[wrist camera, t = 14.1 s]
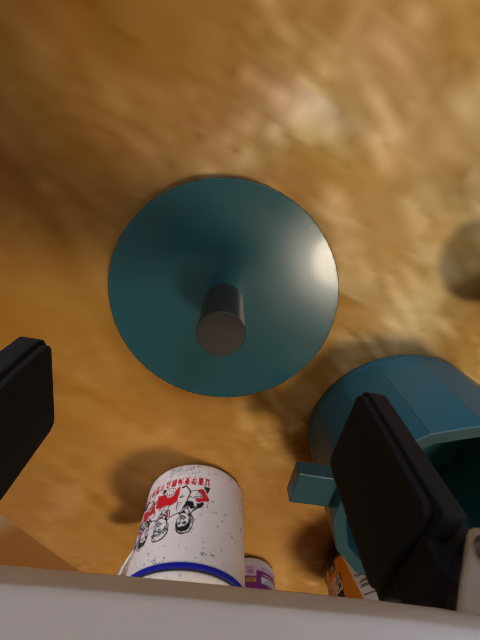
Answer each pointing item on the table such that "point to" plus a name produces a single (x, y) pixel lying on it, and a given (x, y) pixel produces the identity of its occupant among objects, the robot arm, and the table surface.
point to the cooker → (421, 420)
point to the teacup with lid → (191, 529)
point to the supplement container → (345, 578)
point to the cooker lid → (223, 287)
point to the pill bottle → (258, 574)
